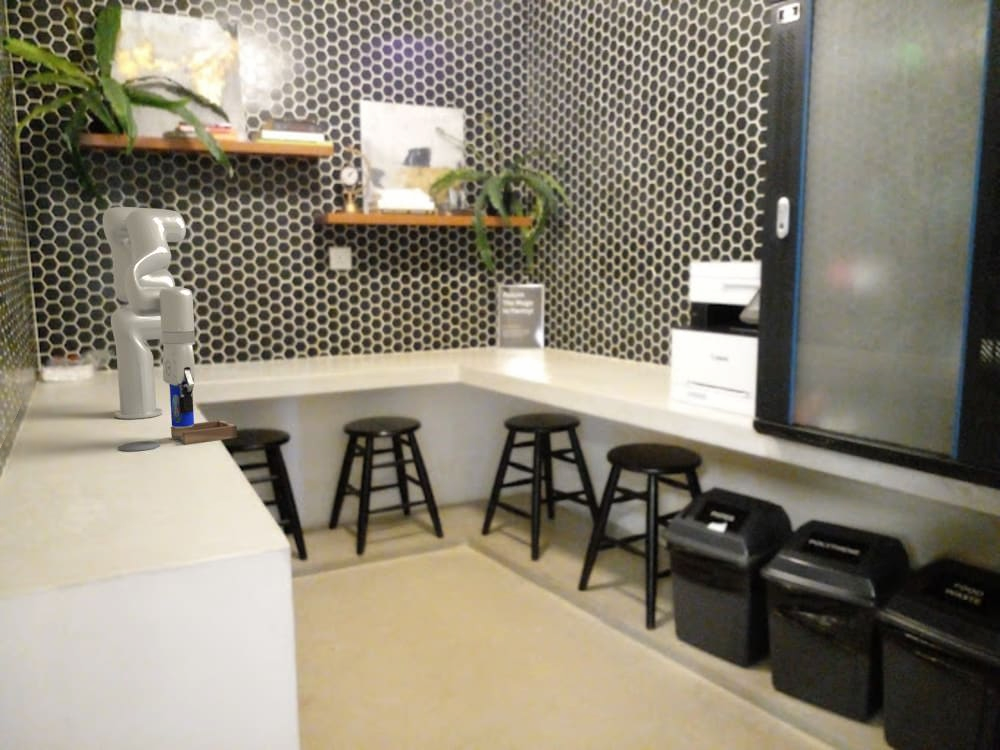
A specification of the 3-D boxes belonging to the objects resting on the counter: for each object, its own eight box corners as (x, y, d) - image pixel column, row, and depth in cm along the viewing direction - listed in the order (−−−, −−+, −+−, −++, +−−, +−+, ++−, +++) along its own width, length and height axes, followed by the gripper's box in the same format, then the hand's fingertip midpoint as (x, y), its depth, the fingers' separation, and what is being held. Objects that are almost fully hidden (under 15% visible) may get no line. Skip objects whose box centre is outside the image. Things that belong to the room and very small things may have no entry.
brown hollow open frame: (171, 438, 191) (170, 426, 191) (222, 431, 200) (221, 420, 199) (185, 444, 184) (184, 432, 183) (237, 437, 192) (236, 425, 192)
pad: (113, 446, 182) (113, 444, 182) (152, 441, 188) (152, 439, 188) (124, 453, 175) (124, 451, 175) (164, 447, 181) (164, 445, 181)
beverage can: (167, 427, 188) (164, 367, 185) (187, 423, 192) (184, 365, 189) (178, 430, 184) (175, 369, 182) (198, 426, 188) (195, 367, 186)
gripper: (150, 336, 189) (155, 407, 191) (174, 342, 176) (178, 418, 179) (181, 335, 194) (185, 404, 196) (206, 340, 181) (210, 414, 184)
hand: (182, 410), depth 187 cm, fingers closed on beverage can, 5 cm apart
